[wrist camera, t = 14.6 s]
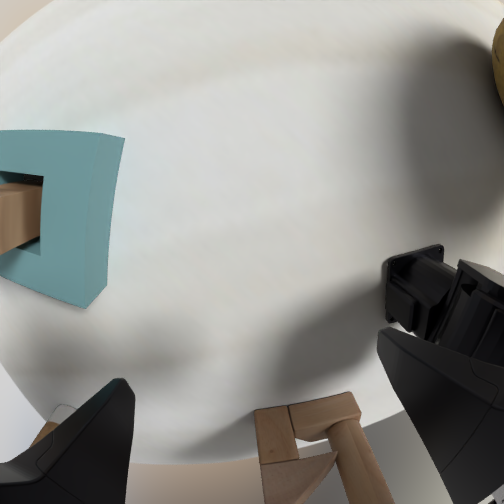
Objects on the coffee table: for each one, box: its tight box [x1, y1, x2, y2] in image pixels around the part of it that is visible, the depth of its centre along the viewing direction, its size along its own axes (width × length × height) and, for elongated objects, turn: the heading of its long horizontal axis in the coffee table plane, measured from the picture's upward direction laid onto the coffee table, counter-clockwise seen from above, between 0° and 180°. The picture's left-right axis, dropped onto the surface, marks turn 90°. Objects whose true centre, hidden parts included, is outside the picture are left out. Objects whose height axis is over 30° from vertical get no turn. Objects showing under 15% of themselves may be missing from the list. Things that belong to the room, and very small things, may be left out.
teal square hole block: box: [0, 130, 125, 309], centre depth 15 cm, size 14×12×4 cm
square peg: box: [0, 179, 43, 255], centre depth 12 cm, size 4×4×10 cm
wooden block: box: [254, 392, 395, 504], centre depth 17 cm, size 4×11×18 cm, turn 96°
